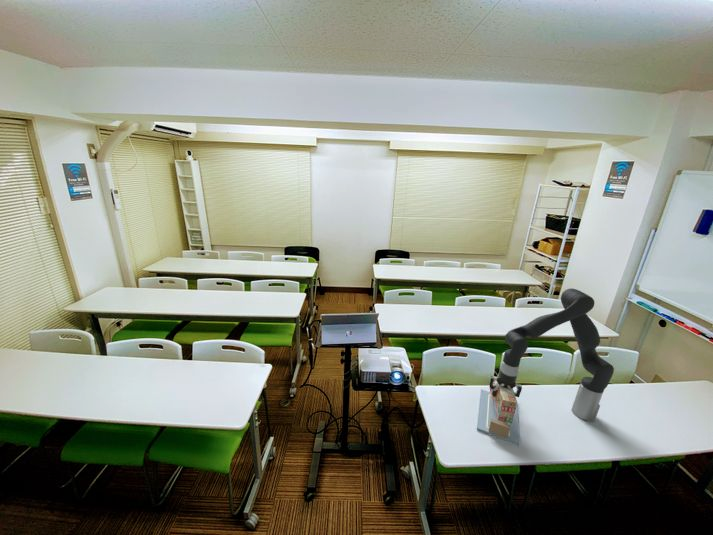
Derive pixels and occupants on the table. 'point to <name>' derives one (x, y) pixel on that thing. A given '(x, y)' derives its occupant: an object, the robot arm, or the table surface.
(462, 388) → the table surface
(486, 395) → the board
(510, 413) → the stack of blocks
